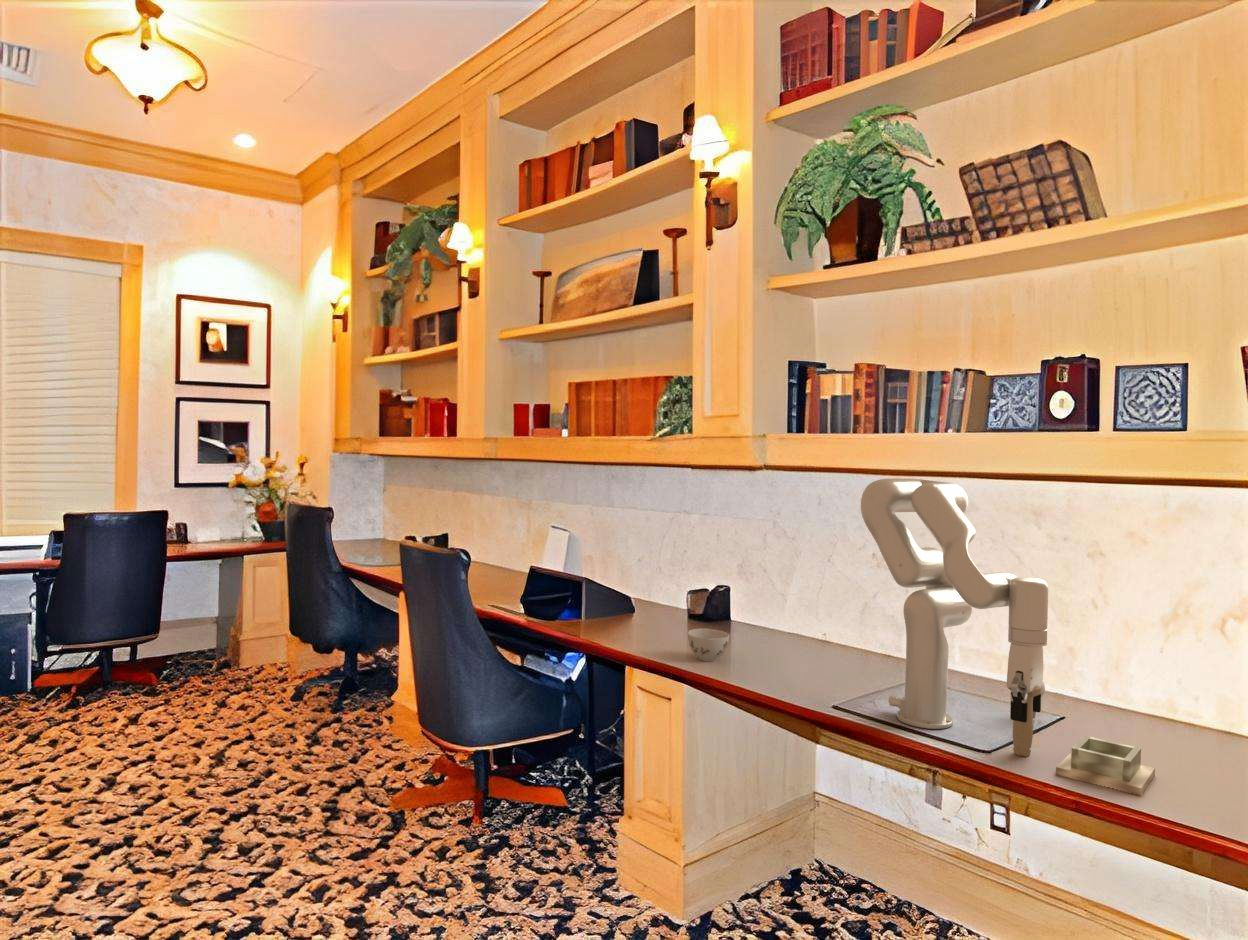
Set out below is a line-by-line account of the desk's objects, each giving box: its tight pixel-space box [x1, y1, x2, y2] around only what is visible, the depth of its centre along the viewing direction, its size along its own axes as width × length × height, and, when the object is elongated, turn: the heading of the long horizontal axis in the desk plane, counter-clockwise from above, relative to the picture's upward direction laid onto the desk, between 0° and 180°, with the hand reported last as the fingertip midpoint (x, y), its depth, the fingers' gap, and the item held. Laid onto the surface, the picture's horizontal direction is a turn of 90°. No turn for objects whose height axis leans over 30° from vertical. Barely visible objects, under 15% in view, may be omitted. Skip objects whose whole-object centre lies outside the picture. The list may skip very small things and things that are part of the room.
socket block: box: [1055, 735, 1156, 796], centre depth 175 cm, size 15×14×6 cm
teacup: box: [687, 628, 730, 662], centre depth 260 cm, size 15×12×8 cm
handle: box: [1009, 686, 1041, 758], centre depth 185 cm, size 5×6×15 cm
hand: (1025, 715), depth 184 cm, fingers open, 9 cm apart
